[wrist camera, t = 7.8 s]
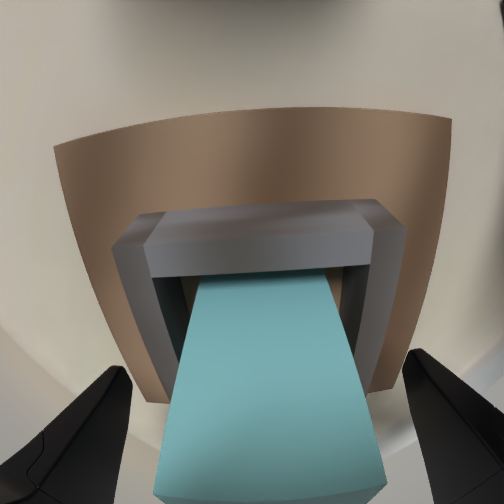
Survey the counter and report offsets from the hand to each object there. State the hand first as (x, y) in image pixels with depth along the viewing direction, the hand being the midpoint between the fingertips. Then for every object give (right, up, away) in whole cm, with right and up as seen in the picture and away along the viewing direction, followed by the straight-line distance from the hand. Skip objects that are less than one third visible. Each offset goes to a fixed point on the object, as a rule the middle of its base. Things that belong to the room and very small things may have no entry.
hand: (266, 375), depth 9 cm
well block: (0, +2, +4) cm, 5 cm away
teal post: (0, +2, +3) cm, 4 cm away
